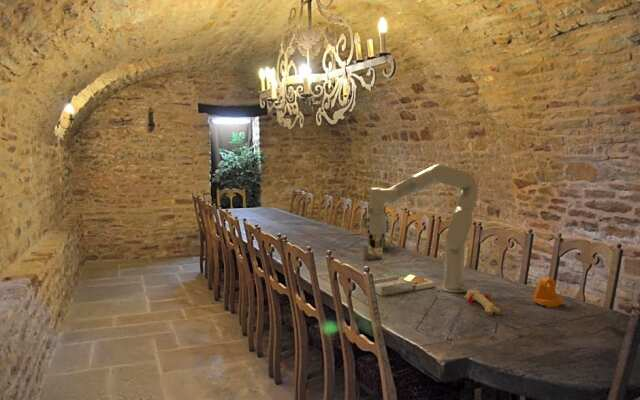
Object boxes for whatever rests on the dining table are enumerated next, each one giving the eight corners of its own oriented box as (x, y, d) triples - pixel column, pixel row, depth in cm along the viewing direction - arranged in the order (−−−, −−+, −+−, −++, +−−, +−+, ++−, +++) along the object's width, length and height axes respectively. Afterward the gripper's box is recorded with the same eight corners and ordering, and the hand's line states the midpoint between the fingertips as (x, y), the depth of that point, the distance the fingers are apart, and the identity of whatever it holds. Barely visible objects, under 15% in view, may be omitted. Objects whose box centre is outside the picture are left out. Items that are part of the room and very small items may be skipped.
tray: (434, 286, 259) (434, 281, 259) (415, 290, 253) (415, 285, 253) (415, 279, 272) (415, 275, 272) (396, 283, 266) (396, 278, 265)
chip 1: (417, 280, 260) (415, 276, 259) (411, 286, 259) (409, 281, 258) (411, 278, 264) (409, 274, 263) (405, 284, 262) (403, 279, 261)
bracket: (541, 307, 227) (543, 281, 226) (532, 302, 234) (533, 276, 233) (563, 306, 228) (565, 280, 227) (554, 301, 236) (555, 276, 234)
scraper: (382, 255, 260) (383, 234, 258) (377, 256, 258) (378, 235, 257) (373, 252, 267) (373, 231, 265) (368, 252, 265) (369, 232, 263)
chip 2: (417, 279, 260) (417, 285, 261) (424, 278, 262) (424, 283, 263) (411, 277, 264) (411, 283, 264) (418, 276, 266) (418, 281, 267)
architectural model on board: (378, 258, 326) (378, 243, 325) (381, 259, 323) (381, 244, 322) (363, 259, 321) (363, 244, 320) (365, 260, 319) (365, 245, 318)
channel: (413, 289, 254) (413, 281, 253) (381, 296, 243) (381, 286, 243) (396, 283, 265) (396, 275, 264) (365, 289, 255) (365, 280, 254)
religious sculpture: (363, 244, 368) (363, 203, 364) (377, 243, 371) (378, 203, 367) (375, 251, 345) (375, 207, 342) (390, 250, 348) (391, 207, 345)
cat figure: (504, 317, 217) (479, 295, 241) (506, 298, 215) (480, 278, 240) (482, 318, 216) (459, 296, 240) (484, 299, 214) (460, 279, 239)
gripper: (368, 213, 252) (367, 249, 254) (393, 211, 261) (392, 246, 263) (359, 211, 259) (358, 247, 261) (384, 209, 267) (383, 244, 269)
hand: (375, 246), depth 262 cm, fingers closed on scraper, 3 cm apart
